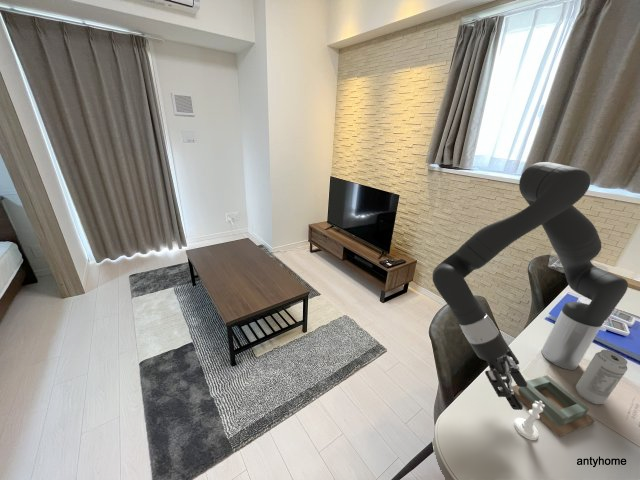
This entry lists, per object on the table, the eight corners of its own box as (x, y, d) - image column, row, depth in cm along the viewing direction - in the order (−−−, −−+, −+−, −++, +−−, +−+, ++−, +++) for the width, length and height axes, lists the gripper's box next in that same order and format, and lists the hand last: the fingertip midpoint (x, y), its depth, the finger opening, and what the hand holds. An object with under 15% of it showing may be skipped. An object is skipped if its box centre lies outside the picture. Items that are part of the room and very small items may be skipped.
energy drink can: (598, 393, 74) (624, 354, 69) (606, 410, 70) (635, 369, 64) (571, 383, 77) (594, 344, 72) (577, 398, 72) (603, 358, 67)
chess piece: (514, 415, 67) (528, 387, 63) (538, 428, 64) (554, 400, 60) (512, 430, 63) (527, 402, 59) (537, 445, 60) (555, 416, 56)
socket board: (540, 379, 77) (545, 370, 76) (593, 422, 66) (600, 412, 64) (508, 389, 74) (513, 379, 72) (559, 436, 62) (566, 426, 61)
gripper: (491, 347, 58) (535, 418, 55) (503, 319, 68) (541, 378, 65) (460, 351, 63) (499, 416, 60) (475, 325, 73) (509, 380, 70)
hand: (520, 396), depth 62 cm, fingers open, 8 cm apart
